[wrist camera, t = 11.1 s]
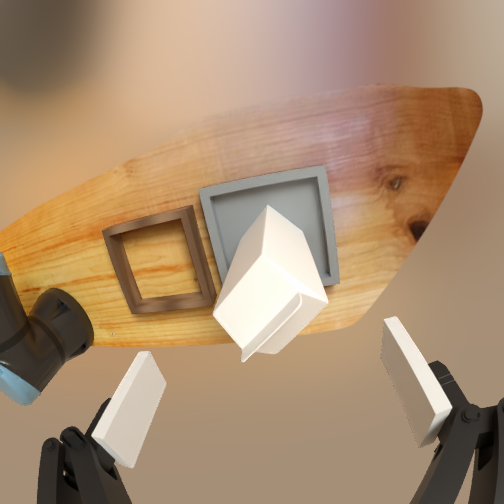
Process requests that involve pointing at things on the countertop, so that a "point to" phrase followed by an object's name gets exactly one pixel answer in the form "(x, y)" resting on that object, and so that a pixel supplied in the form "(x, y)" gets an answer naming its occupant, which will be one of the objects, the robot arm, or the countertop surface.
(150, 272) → the countertop surface
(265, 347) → the milk
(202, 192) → the tray
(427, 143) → the countertop surface
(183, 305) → the frame
